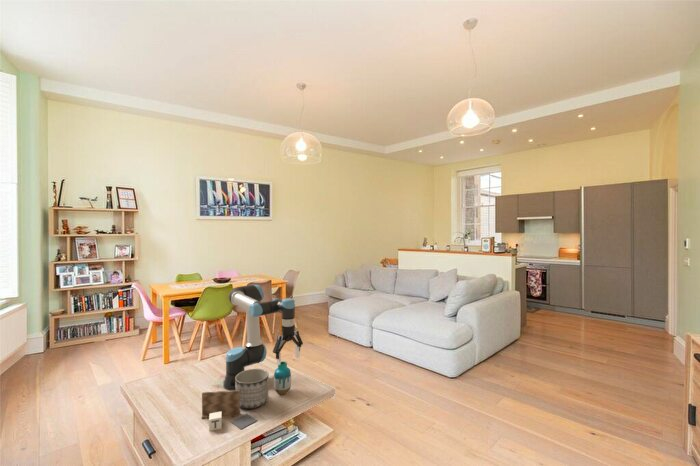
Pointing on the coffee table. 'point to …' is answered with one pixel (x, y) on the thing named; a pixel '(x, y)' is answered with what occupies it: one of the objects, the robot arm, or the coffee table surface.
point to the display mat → (243, 421)
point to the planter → (252, 387)
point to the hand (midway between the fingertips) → (288, 360)
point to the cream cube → (215, 421)
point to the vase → (282, 378)
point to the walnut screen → (221, 403)
